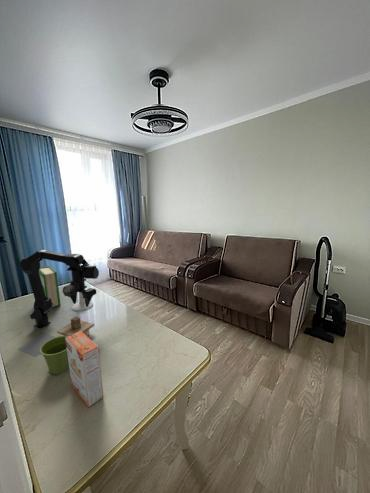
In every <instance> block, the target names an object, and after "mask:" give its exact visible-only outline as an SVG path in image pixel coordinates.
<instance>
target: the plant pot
mask: <svg viewBox="0 0 370 493" xmlns="http://www.w3.org/2000/svg"><path fill="white" fill-rule="evenodd" d="M54 337H55V338H52V339H50V340H48V341H47V342H45V343H44V344H43V345H42V346H41V348H40V353H41V354H40V355H42V357H43V358H44V360H45V363H46V365H47V367H48V371H49V374H50V375H56V376H57V375H60V374H63V373H65V372H66V371H67V370H68V369H69V362H68V354H67V347H66V340H65V338H66V337H68V336H64V335H60V336H59V335H58V336H54Z"/></svg>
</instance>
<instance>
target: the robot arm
mask: <svg viewBox="0 0 370 493" xmlns="http://www.w3.org/2000/svg"><path fill="white" fill-rule="evenodd" d="M43 260H46V261H47V260H49V261H53V262H58V263H63V264H64V265H66V266H68V268H67V269H66V271H69V272H71V273H70V274H71V280H70V282H69V284H67V285H65V286H63V288H62V289H61V290H62V291H61V292H62V294H63V295H64V296H65V297H68V298H70V300H71V301H72V304H73V305H74V304H76V303H77V300H78V299H77V298H78V293H79V292H81V293H82V295H83V297H82V298H84V299H85V304H86V307H88V306H89V303H90V301H91V302H92V299H93V297H94V296H95V295H96V294H97V289H96V288H92V287H90V288H88V286H87V285H85V284H86V281H87V279H88V280H89V279H92V280H93V279H94V280H96V279H98V277H99V275H100V270H99V268H97V265H90V263H89V262H88V261H87V260H86V259H85V257H84V256H83V254H80V253H70V254H69V253H68V254H67V253H62V252H61V253H60V252H56V251H52V250H47V249H41V250H37V251H35V253H33V254H31V255H30V256H28V257H25V258H23V259H21V260H20V261H19V266H20V268H21V270H22V272H23V273H25V274H26V275H27V278H28V280H29V283H30V287H31V291H32V294H33V298H34V303H33V312H31V314H30V315H29V317H30V319H31V320H34V322H35V323H34V324H33V327H34V328H37V329H42V328H44V327H47V326H48V325H50V324H51V323H52V322H51V321H49V316H48V313H50V312H51V310H52V308H53V307H52V305H53V303H52V300H51V298H49V299H48V298H47V297H46V296H45V292H44V289H43V285H42V282H41V278H40V275H39V269H40V267H41V261H43ZM80 265H81V266H80Z"/></svg>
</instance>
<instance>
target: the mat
mask: <svg viewBox="0 0 370 493" xmlns="http://www.w3.org/2000/svg"><path fill="white" fill-rule="evenodd" d="M55 337H56V336H54V335H50V334H48V333H42V334H41V335H39V336H38V337H36V338H34V339H33V340H30V341H29V342H27V343H26V344H24V345H22V346H19V347H18V348H17V350H19V351H20V352H21V351H22V352H24V353H26V354H28V355H31V356H32V357H38V356H40V355H42V354H41V353H40V348H41V346H42V345H43V344H44V343H45V342H47V341H48V340H50V339H52V338H55Z"/></svg>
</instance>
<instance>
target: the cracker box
mask: <svg viewBox="0 0 370 493" xmlns="http://www.w3.org/2000/svg"><path fill="white" fill-rule="evenodd" d="M65 340H66V347H67V354H68V362H69V368H68V369H69V375H70V382H71V383H70V384H71V386H72V387H73V389H74V390H75V392H76V393H77V395H79V397H80V398H81V399H82V401H83V403H84V404H85V405H86V407H87V409H89V408H91V407H92V406H94V405H95V404H96V403H97V402H98V401H100V400H101V399H102V398H103V397H104V389H103V388H104V387H103V377H102V367H101V355H100V346H98V344H96V343H95V342H94V341H93V340H92V339H91V338H89V337H88V336H86V335H85V334H84V333H83V332H82V331H79V332H77V333H74V334H72V335H70V336H68V337H66V338H65Z"/></svg>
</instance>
